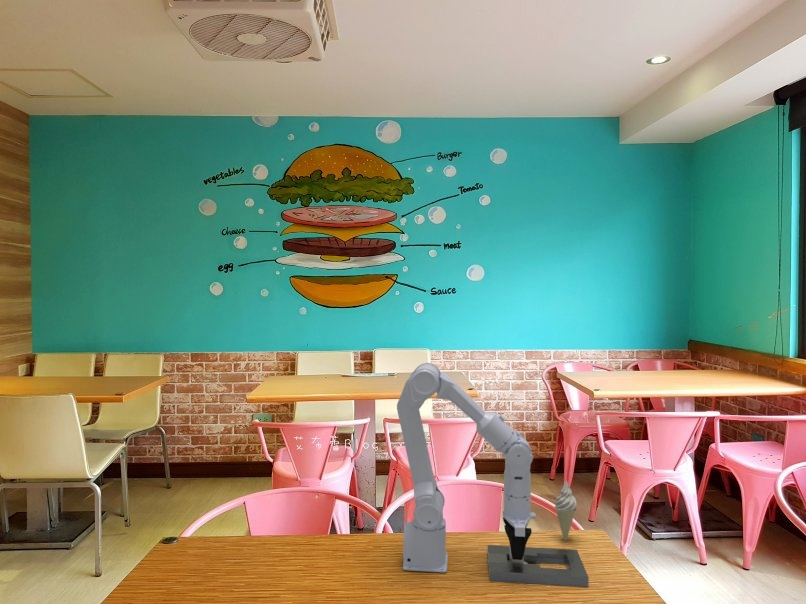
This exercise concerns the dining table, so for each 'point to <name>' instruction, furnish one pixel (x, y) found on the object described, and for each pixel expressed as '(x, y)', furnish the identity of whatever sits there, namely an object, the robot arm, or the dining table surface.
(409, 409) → the robot arm
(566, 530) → the ice cream cone
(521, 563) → the peg
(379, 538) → the dining table surface
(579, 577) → the keyhole plate
